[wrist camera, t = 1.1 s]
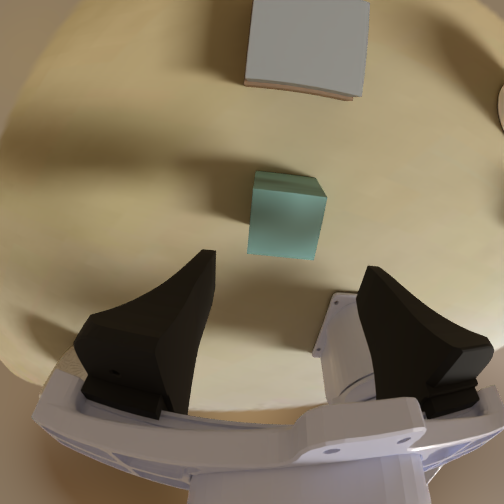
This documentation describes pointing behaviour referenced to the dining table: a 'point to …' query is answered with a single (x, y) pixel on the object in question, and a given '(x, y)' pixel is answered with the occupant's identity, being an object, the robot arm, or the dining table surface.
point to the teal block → (285, 215)
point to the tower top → (309, 44)
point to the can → (501, 106)
